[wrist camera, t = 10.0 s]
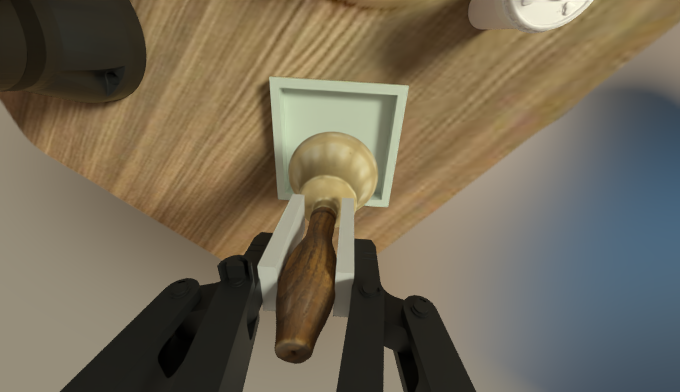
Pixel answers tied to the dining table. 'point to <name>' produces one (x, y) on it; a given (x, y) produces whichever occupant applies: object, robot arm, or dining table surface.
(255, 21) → the dining table surface
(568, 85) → the dining table surface
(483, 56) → the dining table surface
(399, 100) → the tray
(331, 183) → the hand bell
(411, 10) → the dining table surface
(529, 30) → the smoothie
